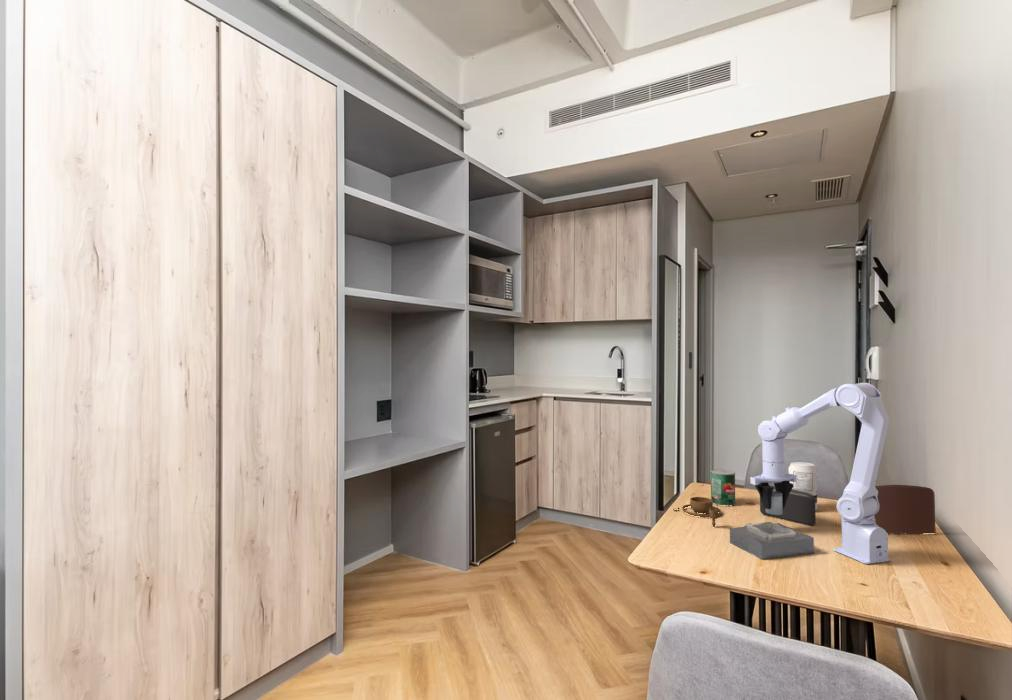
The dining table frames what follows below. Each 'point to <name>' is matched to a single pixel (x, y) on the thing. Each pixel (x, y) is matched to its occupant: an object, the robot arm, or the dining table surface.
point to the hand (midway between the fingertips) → (774, 507)
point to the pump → (776, 503)
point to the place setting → (703, 508)
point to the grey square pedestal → (771, 540)
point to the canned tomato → (723, 487)
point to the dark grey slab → (796, 508)
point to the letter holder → (906, 509)
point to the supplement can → (805, 478)
